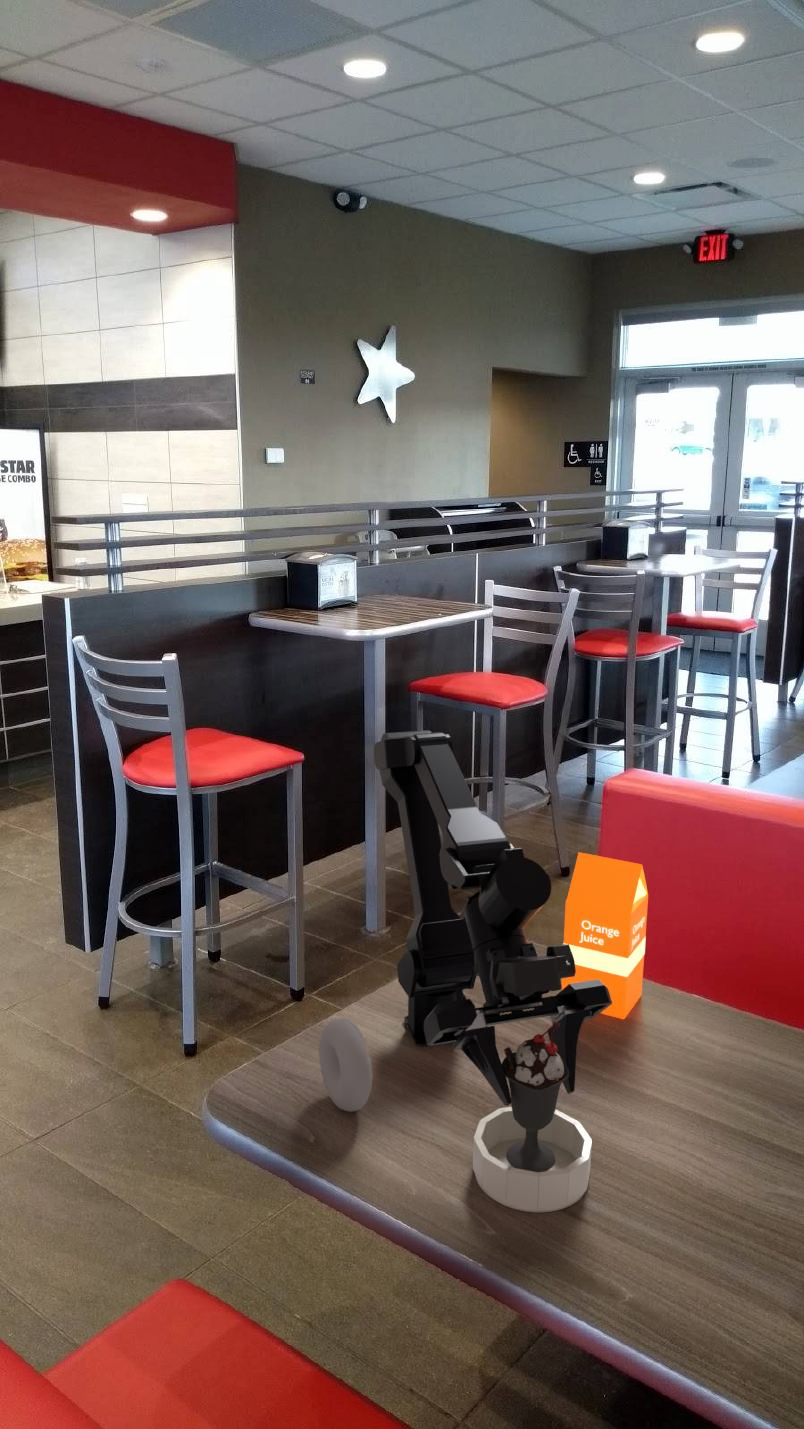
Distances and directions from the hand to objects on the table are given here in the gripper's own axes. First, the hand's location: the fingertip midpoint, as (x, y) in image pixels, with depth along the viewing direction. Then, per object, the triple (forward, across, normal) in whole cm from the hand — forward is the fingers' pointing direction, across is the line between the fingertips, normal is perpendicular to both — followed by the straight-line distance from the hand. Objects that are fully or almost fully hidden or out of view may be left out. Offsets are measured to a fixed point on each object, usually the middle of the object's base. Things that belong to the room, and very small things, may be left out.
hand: (540, 1098), depth 105 cm
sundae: (+5, 0, +6) cm, 8 cm away
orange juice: (-15, +24, +29) cm, 41 cm away
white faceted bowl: (+6, 0, +7) cm, 9 cm away
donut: (-6, -15, +20) cm, 25 cm away
